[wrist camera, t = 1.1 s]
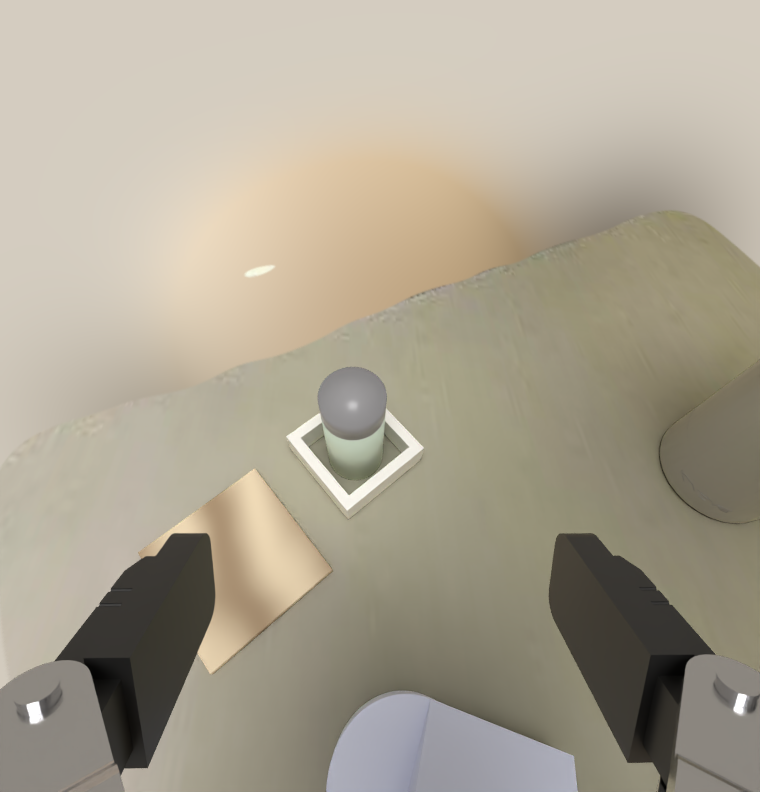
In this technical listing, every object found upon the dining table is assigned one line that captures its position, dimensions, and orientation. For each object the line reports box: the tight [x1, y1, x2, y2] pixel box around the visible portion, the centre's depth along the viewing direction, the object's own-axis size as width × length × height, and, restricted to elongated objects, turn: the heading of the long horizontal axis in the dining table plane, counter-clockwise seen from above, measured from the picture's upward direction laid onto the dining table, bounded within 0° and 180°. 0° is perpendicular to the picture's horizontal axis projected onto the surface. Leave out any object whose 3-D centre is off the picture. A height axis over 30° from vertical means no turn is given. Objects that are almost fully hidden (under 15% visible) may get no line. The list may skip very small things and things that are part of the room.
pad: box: [138, 469, 333, 674], centre depth 35 cm, size 10×10×1 cm
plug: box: [318, 367, 387, 480], centre depth 35 cm, size 4×4×10 cm
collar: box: [286, 409, 424, 520], centre depth 38 cm, size 8×8×2 cm
